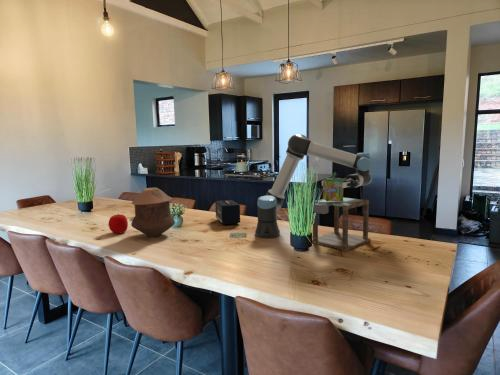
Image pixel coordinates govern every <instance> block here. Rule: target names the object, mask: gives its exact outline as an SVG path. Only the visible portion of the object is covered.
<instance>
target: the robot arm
mask: <svg viewBox="0 0 500 375" xmlns="http://www.w3.org/2000/svg"><path fill="white" fill-rule="evenodd" d="M285 153H286V156H285V159H284V161H283V163H282V165H281V167H280V170H279V171H278V174H277V176H276V179H275V181H274V183H273V185H272V188H271V189H268V191H267V192H266V195H263V196H262V195H261V196H260V197H258V198H257V202H256V205H257V224H256V228H255V230H254V234H255V237H258V238H264V239H265V238H267V239H269V238H271V239H272V238H277V237H280V232H281V230H280V229H279V225H278V221H277V220H278V218H277V217H278V214H277V213H278V212H279V211H280V210H281V209H282V206H283V203H284V200H285V198H286V197H285V192H286V190H287V188H288V186H289V185H290V182H291V180H292V178H293V175H294V173H295V172H296V169H297V167H298V165H299V163H300V161H302V160H303V159H304V158H305V156H306V157H308V156H312V157H314V158H317V159H318V158H320V159H322V160H325V161H328V162H333V163H336V164H340V165H343V166H346V167H349V168H352V169H355V173H353V174H348V175H346V176H345V177H344V178H342V179H343V180H344V183H342V188H343V189H345V188H350V189H351V188H358V187H361V186H368V185H369V184H371V183H372V181H373V175H372V174H371V173H370V169H371V167H372V160H371V157H370V156H371V155H370V153H369V152H357V153H356V154H355V153H352V152H348V151H345V150H341V149H338V148H335V147H331V146H328V145H324V144H321V143H317V142H314V141H313V139H310V138H308V137H307V136H306V135H305V134H302V133H300V134H299V133H298V134H294V135H291V136H290V137H289V139H288V141H287V148H286V151H285ZM321 186H322V187H323V180H321Z"/></svg>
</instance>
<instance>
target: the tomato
mask: <svg viewBox="0 0 500 375" xmlns="http://www.w3.org/2000/svg"><path fill="white" fill-rule="evenodd" d="M128 222H129V221H128V218H127V216H125V215H124V214H119V213H117V214H114V215H112V216H110V217H109V219H108V228H109V230H110V232H112V233H113V234H116V235H117V234H123V233H125V232H126V231H127V230H128V226H129V224H128Z"/></svg>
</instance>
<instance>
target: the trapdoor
mask: <svg viewBox="0 0 500 375" xmlns="http://www.w3.org/2000/svg"><path fill="white" fill-rule="evenodd" d="M362 200H363V199H358V198H351V197H343V201H326V200H322V201H319V203H321V204H318V205H317V203H315V205H314V213H318V214H322V215H326V214H328V213H329V207H330V206H334V205H335V206H339V207H342V208H343V205H346V204H350V203H354V202H358V201H362Z"/></svg>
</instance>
